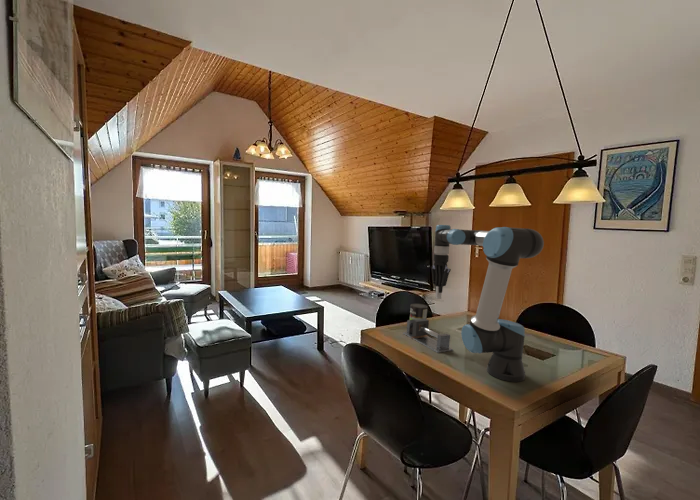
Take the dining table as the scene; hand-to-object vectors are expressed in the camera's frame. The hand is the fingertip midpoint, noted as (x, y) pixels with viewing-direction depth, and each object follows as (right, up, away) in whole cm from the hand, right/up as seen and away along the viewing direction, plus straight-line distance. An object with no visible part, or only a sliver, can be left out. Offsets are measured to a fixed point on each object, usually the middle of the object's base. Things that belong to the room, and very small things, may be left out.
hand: (438, 298), depth 179 cm
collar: (-8, -22, +9) cm, 25 cm away
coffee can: (-6, -22, +27) cm, 35 cm away
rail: (-5, -24, +4) cm, 25 cm away
